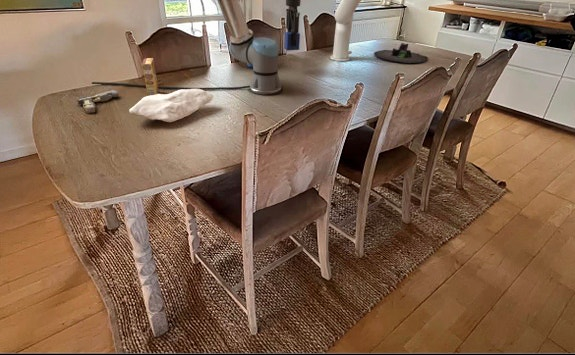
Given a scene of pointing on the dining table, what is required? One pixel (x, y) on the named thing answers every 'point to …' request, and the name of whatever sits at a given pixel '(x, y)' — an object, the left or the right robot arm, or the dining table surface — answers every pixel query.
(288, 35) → the block
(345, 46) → the right robot arm
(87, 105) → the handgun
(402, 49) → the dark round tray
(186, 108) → the crumpled cloth
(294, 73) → the dining table surface
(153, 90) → the candy box
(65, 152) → the dining table surface
